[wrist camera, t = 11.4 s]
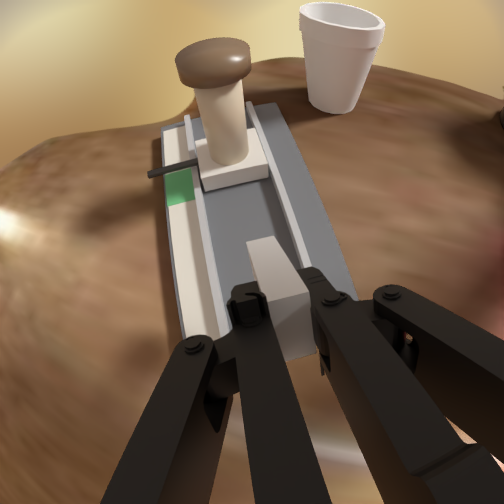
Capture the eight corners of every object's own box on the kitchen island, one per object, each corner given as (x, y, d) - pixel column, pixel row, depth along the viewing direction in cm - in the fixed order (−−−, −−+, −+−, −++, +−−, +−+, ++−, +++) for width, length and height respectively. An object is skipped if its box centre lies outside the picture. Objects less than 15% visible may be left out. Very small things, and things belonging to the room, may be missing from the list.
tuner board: (275, 111, 34) (275, 94, 32) (358, 319, 23) (368, 312, 21) (164, 136, 34) (158, 120, 31) (191, 361, 23) (182, 359, 20)
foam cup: (297, 78, 37) (299, -1, 26) (360, 85, 36) (374, 9, 25) (296, 118, 33) (300, 23, 22) (370, 126, 33) (394, 37, 21)
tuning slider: (255, 141, 30) (246, 32, 18) (268, 178, 28) (264, 59, 16) (152, 166, 29) (107, 68, 18) (154, 205, 27) (97, 103, 16)
